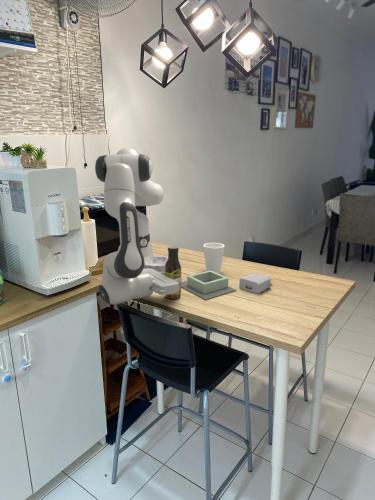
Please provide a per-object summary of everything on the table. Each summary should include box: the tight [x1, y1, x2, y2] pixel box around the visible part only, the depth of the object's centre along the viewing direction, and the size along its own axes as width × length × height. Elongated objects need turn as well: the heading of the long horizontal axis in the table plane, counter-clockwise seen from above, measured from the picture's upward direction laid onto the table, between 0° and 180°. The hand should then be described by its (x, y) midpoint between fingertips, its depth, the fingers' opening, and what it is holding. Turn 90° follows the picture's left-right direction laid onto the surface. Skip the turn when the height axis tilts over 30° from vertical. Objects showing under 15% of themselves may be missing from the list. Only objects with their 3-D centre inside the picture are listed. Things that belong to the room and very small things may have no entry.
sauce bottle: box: [165, 245, 182, 300], centre depth 147 cm, size 7×6×20 cm
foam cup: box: [202, 242, 225, 275], centre depth 174 cm, size 10×9×13 cm
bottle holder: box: [186, 270, 229, 294], centre depth 158 cm, size 11×12×4 cm
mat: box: [181, 280, 237, 301], centre depth 158 cm, size 20×16×1 cm
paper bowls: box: [144, 255, 168, 272], centre depth 169 cm, size 15×15×8 cm
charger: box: [238, 272, 273, 294], centre depth 160 cm, size 5×9×15 cm
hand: (175, 276), depth 148 cm, fingers closed on sauce bottle, 6 cm apart
